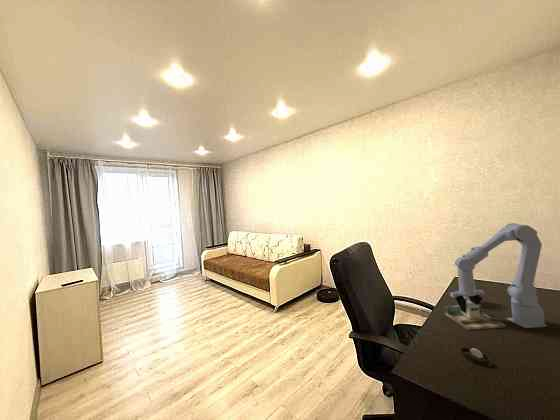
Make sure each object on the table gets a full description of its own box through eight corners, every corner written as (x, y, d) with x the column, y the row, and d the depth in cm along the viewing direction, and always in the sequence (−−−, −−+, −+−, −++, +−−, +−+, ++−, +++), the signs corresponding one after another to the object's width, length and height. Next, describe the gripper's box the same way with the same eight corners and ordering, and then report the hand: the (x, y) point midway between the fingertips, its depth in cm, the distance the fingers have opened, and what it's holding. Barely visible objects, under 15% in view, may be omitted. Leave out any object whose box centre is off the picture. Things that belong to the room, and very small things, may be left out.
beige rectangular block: (469, 312, 109) (468, 300, 109) (480, 318, 102) (479, 305, 102) (460, 312, 109) (458, 300, 109) (471, 319, 102) (469, 306, 102)
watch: (491, 362, 77) (490, 352, 77) (487, 369, 75) (486, 358, 75) (464, 352, 84) (463, 342, 84) (459, 357, 81) (458, 347, 81)
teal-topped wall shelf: (478, 312, 110) (477, 303, 110) (505, 327, 96) (504, 316, 96) (445, 314, 111) (444, 305, 111) (468, 329, 97) (467, 319, 97)
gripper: (474, 278, 110) (477, 306, 110) (444, 281, 110) (447, 308, 110) (487, 283, 103) (490, 312, 103) (455, 286, 103) (458, 315, 103)
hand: (468, 311), depth 106 cm, fingers closed on beige rectangular block, 4 cm apart
